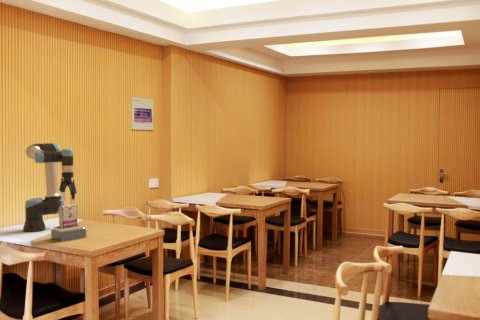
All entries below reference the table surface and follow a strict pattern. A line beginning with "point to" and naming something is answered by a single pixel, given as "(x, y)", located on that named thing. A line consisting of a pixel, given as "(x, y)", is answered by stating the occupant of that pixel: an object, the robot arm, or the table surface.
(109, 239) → the table surface
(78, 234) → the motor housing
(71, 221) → the candy bar box
